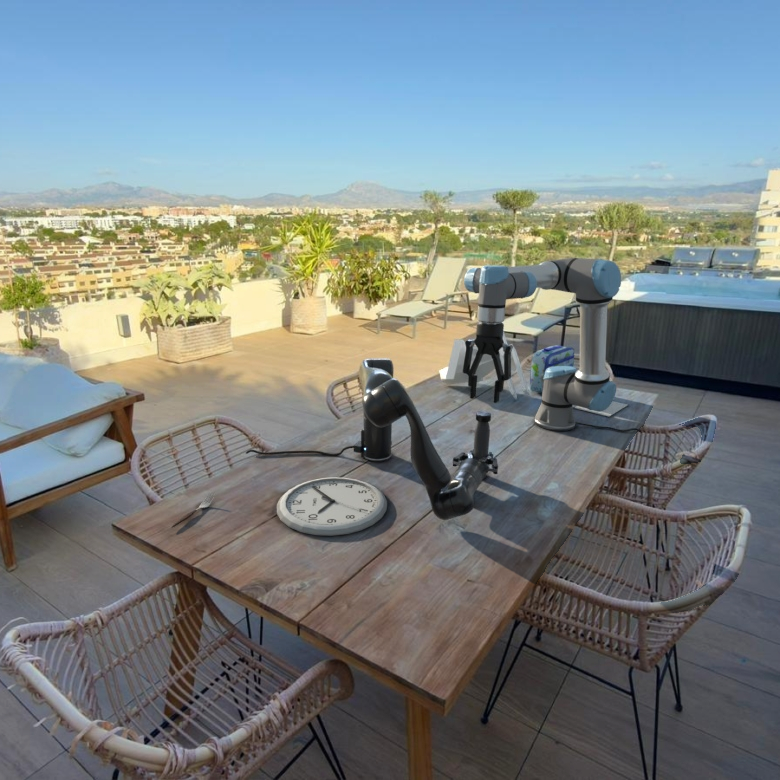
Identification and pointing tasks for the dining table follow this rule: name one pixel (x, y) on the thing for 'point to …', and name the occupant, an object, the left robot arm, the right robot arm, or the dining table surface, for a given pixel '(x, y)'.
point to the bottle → (481, 440)
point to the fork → (203, 505)
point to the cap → (483, 416)
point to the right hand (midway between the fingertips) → (484, 399)
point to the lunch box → (548, 363)
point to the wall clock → (331, 506)
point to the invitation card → (609, 411)
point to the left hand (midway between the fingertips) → (482, 453)
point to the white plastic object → (486, 365)
